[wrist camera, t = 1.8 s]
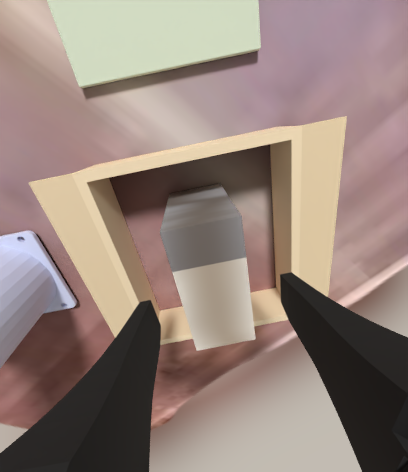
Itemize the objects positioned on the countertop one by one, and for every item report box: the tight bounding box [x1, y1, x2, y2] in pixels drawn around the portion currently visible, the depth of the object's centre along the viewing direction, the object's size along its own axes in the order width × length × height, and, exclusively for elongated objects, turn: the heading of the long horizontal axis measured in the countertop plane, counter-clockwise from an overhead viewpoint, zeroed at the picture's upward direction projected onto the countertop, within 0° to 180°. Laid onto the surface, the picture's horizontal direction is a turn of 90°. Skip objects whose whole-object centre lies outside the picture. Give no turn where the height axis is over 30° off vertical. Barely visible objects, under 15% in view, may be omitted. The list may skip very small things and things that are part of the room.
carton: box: [29, 116, 347, 345], centre depth 17 cm, size 18×15×4 cm
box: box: [160, 183, 255, 351], centre depth 15 cm, size 4×9×7 cm, turn 11°
